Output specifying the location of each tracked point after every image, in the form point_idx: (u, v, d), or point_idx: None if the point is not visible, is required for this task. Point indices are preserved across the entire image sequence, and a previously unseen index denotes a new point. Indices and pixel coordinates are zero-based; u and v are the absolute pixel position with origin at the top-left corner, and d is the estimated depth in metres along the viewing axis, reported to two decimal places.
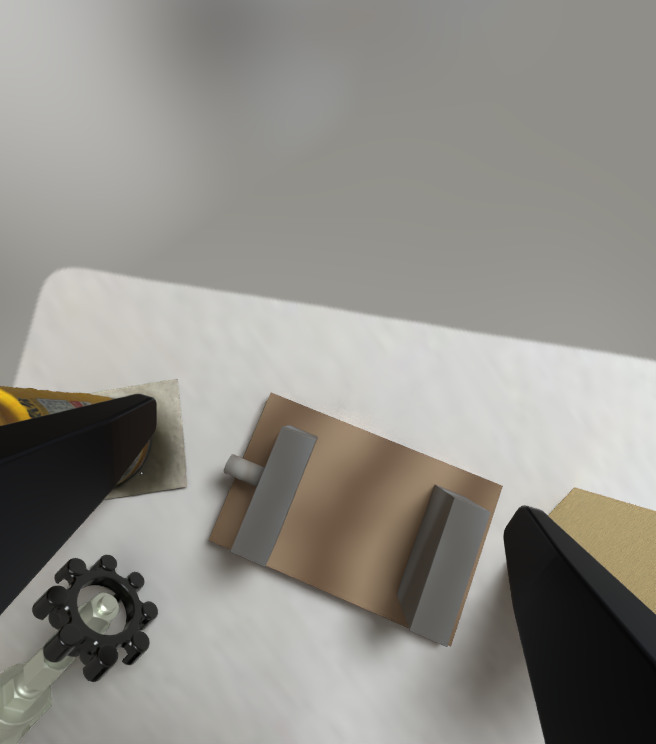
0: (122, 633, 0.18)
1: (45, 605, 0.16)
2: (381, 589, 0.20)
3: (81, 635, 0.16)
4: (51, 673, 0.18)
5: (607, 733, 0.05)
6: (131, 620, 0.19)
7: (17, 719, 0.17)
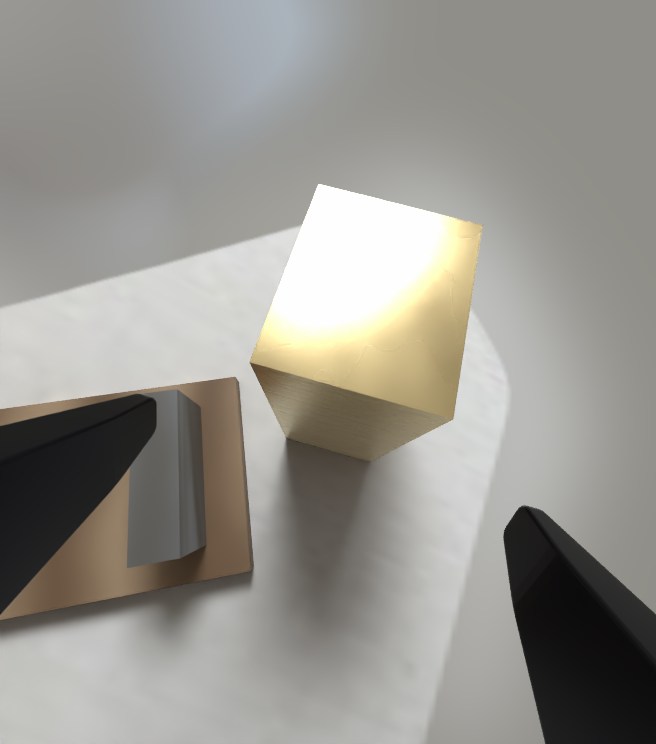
0: None
1: None
2: None
3: None
4: None
5: (607, 733, 0.05)
6: None
7: None
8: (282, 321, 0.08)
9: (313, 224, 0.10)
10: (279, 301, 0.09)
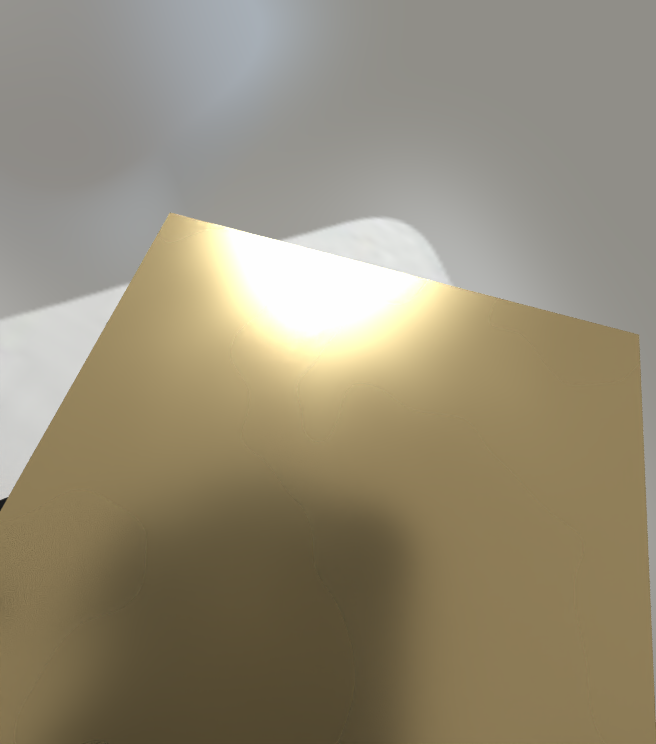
0: None
1: None
2: None
3: None
4: None
5: None
6: None
7: None
8: None
9: (128, 342, 0.03)
10: None
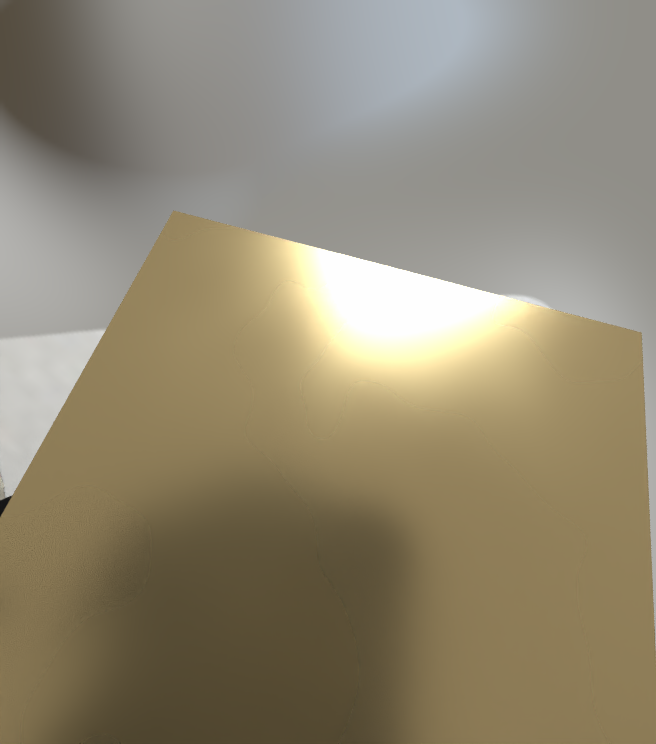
0: None
1: None
2: None
3: None
4: None
5: None
6: None
7: None
8: None
9: (132, 340, 0.03)
10: None
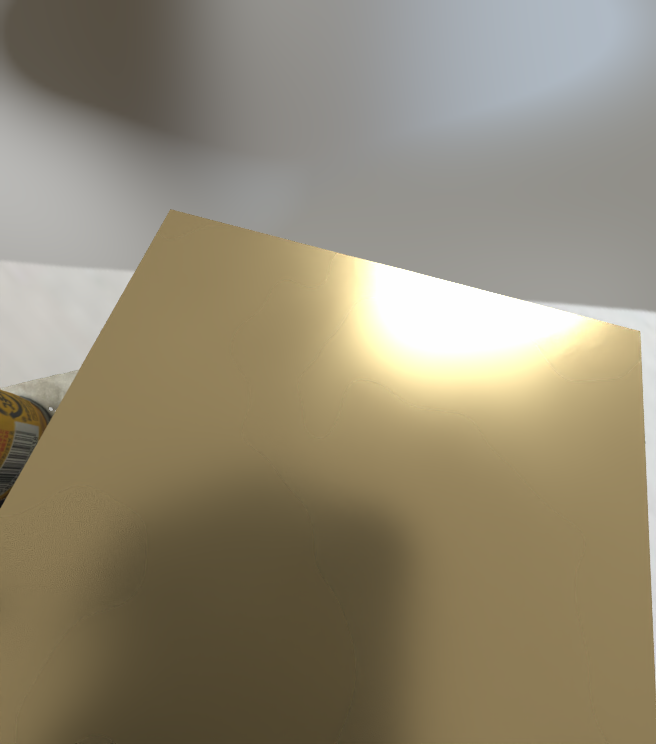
0: None
1: None
2: None
3: None
4: None
5: None
6: None
7: None
8: None
9: (128, 339, 0.03)
10: None
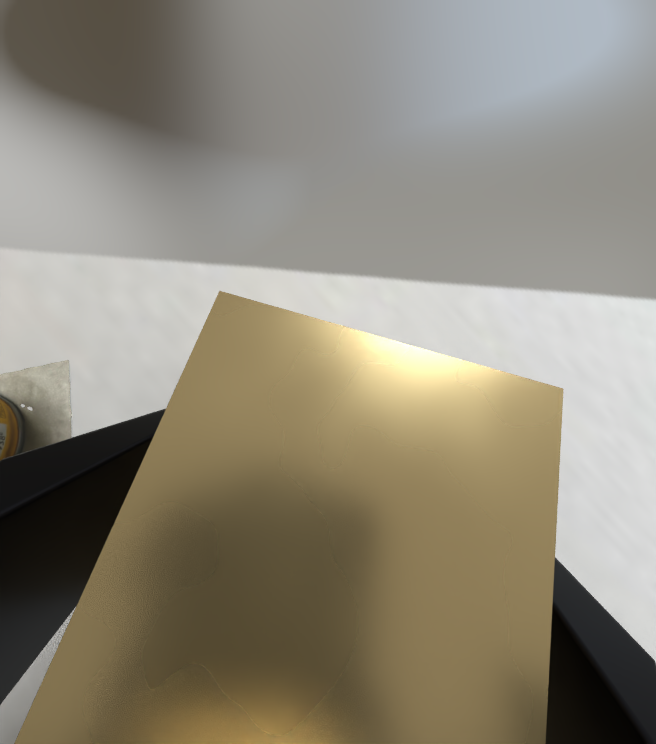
0: None
1: None
2: None
3: None
4: None
5: None
6: None
7: None
8: (76, 705, 0.03)
9: (195, 395, 0.04)
10: (80, 633, 0.03)
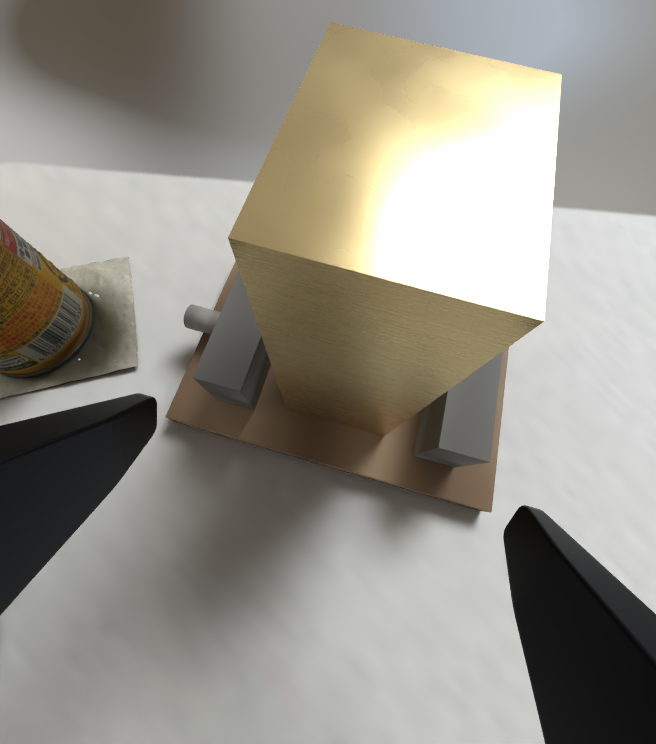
0: None
1: None
2: (392, 452, 0.16)
3: None
4: None
5: (607, 733, 0.05)
6: None
7: None
8: (278, 185, 0.06)
9: (323, 67, 0.07)
10: (274, 160, 0.06)
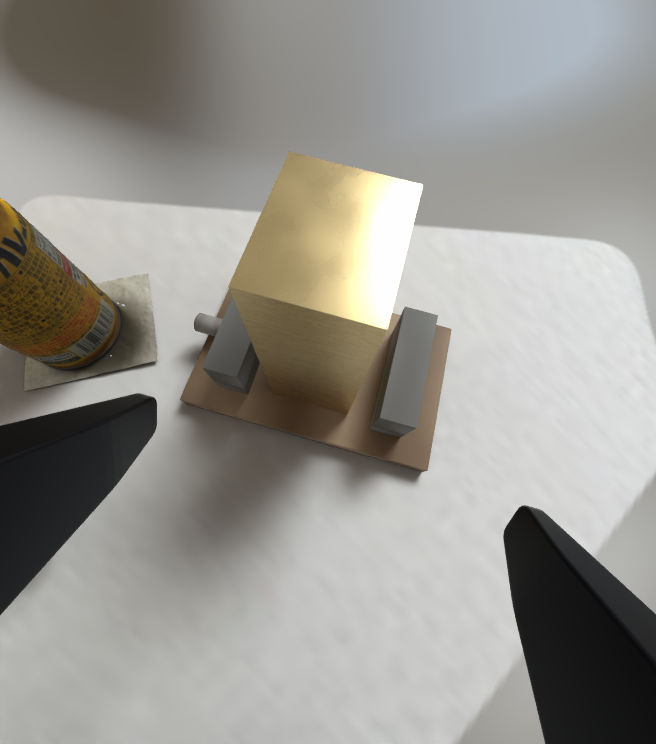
0: None
1: None
2: (354, 426, 0.21)
3: None
4: None
5: (607, 733, 0.05)
6: None
7: None
8: (255, 256, 0.11)
9: (283, 183, 0.12)
10: (253, 241, 0.11)
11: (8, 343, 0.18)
